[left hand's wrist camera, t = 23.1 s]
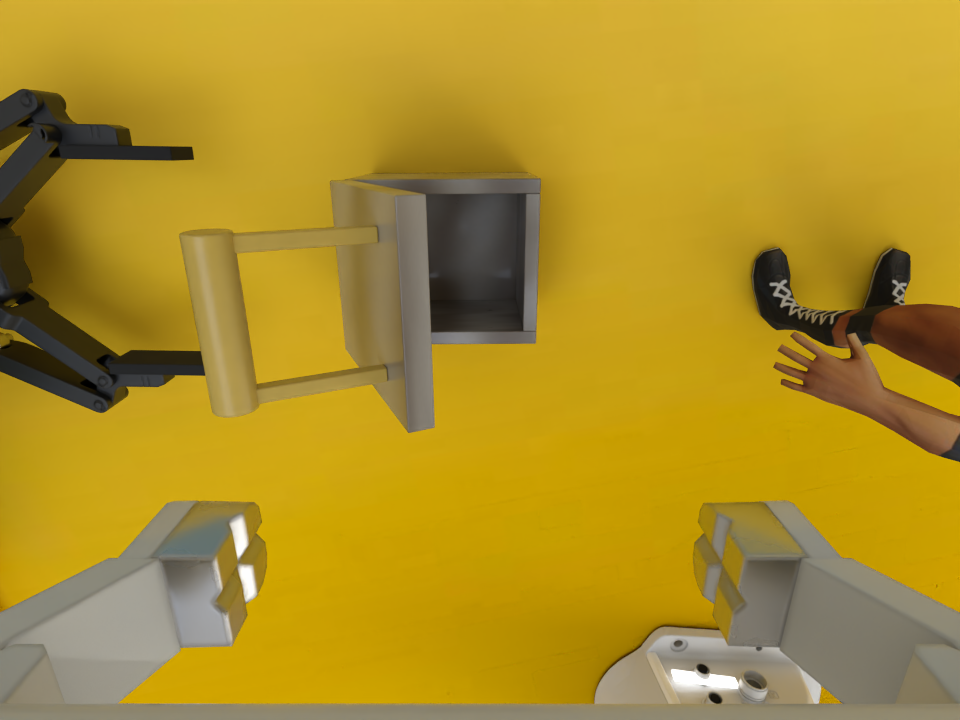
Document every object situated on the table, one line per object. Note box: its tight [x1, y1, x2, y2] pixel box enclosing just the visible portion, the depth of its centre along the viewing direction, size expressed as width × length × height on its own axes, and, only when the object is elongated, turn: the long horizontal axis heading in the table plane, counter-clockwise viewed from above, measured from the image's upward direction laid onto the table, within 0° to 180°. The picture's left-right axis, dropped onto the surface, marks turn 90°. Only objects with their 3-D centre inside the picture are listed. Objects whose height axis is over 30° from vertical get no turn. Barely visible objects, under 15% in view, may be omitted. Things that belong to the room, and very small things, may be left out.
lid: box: [179, 180, 435, 433], centre depth 27 cm, size 12×10×9 cm
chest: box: [346, 172, 541, 344], centre depth 38 cm, size 11×10×9 cm
